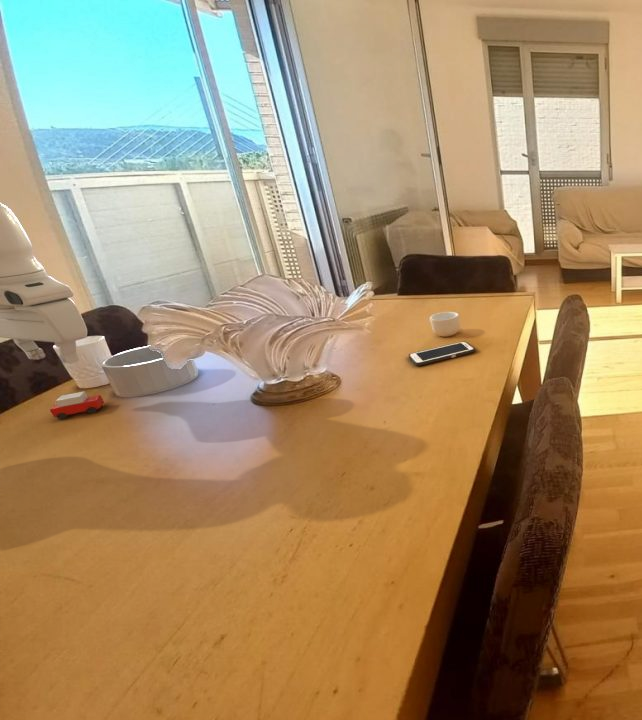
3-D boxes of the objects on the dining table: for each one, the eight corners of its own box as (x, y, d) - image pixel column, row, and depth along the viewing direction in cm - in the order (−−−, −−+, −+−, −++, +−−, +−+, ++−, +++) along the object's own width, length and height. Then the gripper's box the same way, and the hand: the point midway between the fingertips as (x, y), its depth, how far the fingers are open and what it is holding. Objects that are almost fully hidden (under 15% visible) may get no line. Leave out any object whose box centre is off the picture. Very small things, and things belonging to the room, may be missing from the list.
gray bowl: (105, 403, 99) (90, 372, 96) (125, 379, 110) (111, 351, 107) (193, 386, 106) (181, 357, 103) (202, 365, 117) (192, 338, 114)
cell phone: (408, 357, 117) (407, 354, 117) (465, 343, 125) (465, 340, 125) (416, 367, 112) (415, 363, 111) (476, 352, 120) (476, 348, 119)
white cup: (127, 379, 110) (108, 339, 106) (79, 393, 104) (57, 350, 100) (117, 372, 114) (98, 333, 110) (70, 385, 108) (48, 344, 104)
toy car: (55, 421, 92) (45, 403, 90) (62, 413, 95) (52, 396, 93) (100, 411, 95) (91, 394, 94) (106, 405, 98) (97, 388, 96)
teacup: (465, 334, 133) (462, 316, 130) (437, 340, 129) (433, 322, 126) (454, 326, 140) (451, 308, 138) (427, 331, 136) (424, 313, 134)
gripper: (-47, 292, 85) (-5, 362, 90) (29, 296, 80) (69, 371, 85) (3, 283, 90) (40, 350, 96) (77, 287, 85) (111, 357, 91)
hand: (54, 360), depth 90 cm, fingers open, 8 cm apart
